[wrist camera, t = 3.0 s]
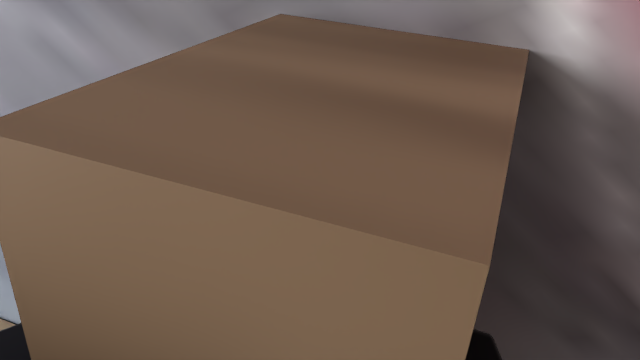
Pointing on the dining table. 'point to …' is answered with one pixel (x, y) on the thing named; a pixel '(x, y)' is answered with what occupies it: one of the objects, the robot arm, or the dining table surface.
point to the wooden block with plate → (264, 198)
